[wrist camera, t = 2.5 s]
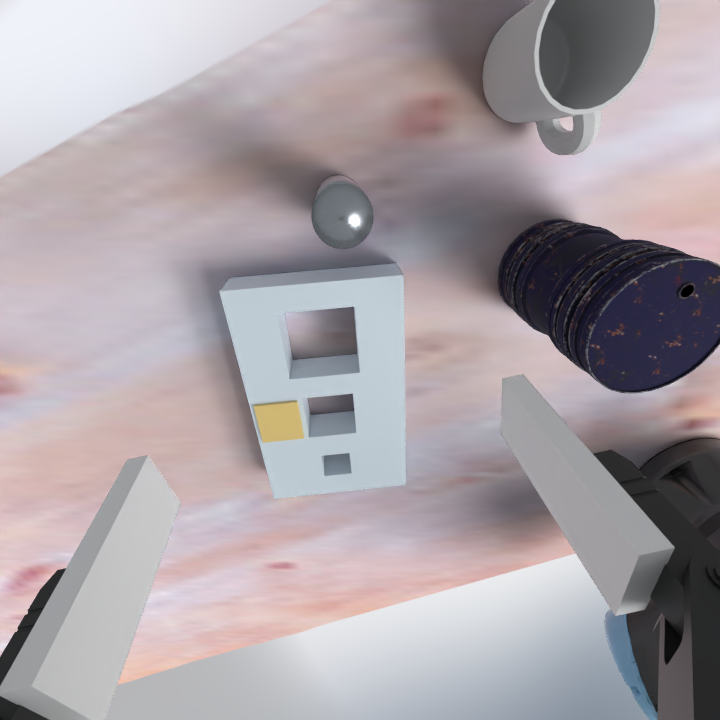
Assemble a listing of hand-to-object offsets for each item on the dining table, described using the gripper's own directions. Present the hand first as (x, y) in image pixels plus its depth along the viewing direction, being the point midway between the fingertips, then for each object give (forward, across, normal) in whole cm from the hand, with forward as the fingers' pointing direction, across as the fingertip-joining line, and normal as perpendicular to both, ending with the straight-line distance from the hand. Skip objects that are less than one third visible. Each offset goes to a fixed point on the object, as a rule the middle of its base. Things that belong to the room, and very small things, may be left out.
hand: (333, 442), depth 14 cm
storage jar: (+24, -22, +6) cm, 33 cm away
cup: (+25, -20, -10) cm, 33 cm away
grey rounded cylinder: (+25, -3, -4) cm, 26 cm away
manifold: (+24, +2, +14) cm, 28 cm away
